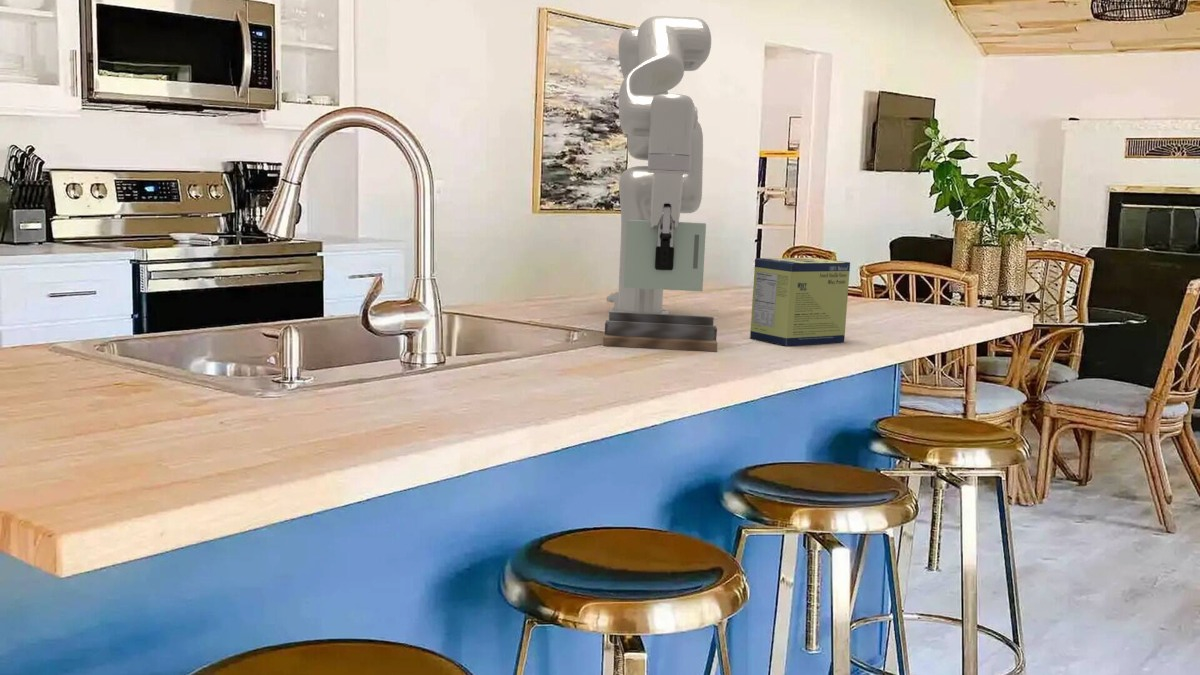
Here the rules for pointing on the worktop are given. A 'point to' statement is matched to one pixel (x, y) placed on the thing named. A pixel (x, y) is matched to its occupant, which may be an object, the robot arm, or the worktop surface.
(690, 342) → the door track
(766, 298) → the protein box
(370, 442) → the worktop surface
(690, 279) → the door panel
